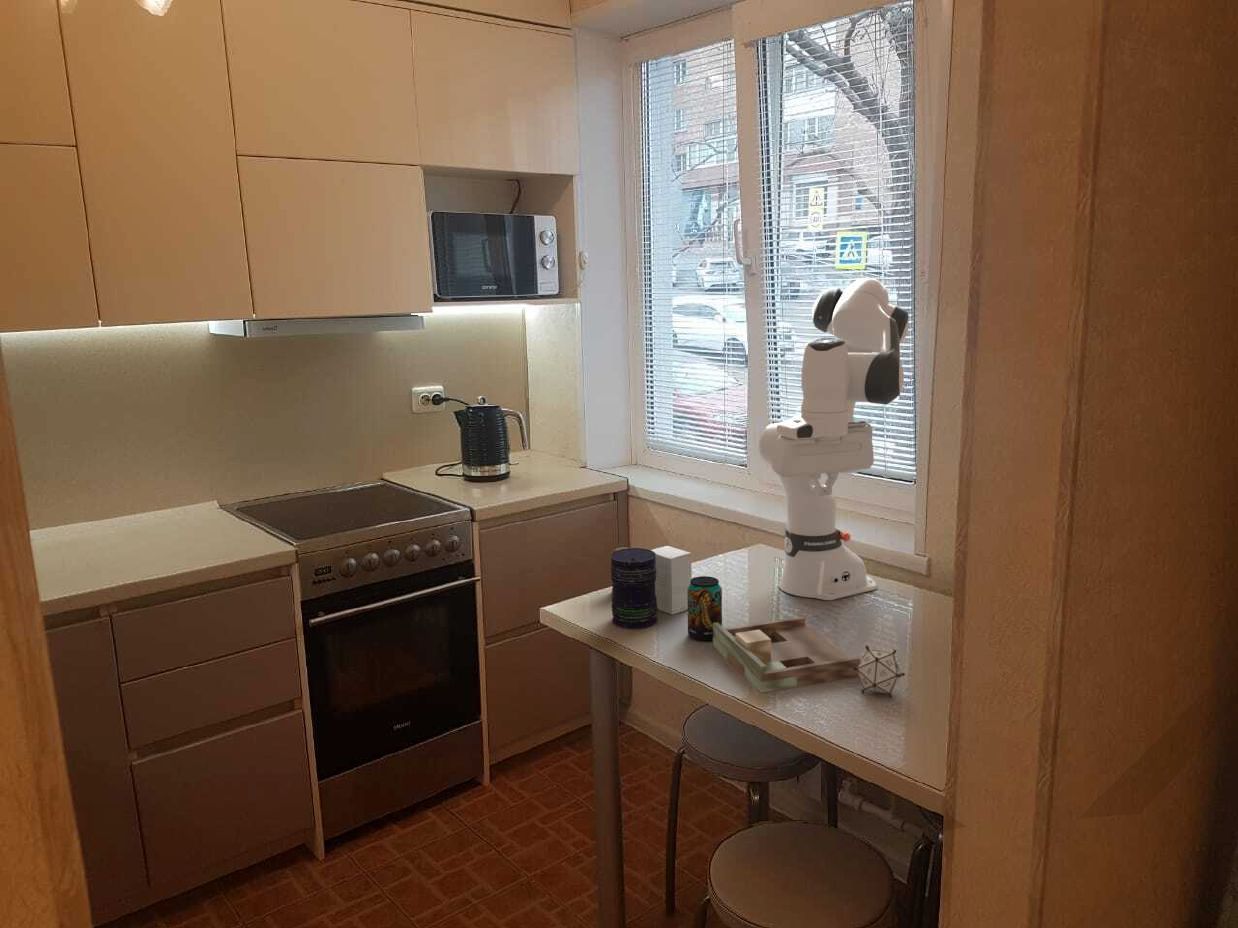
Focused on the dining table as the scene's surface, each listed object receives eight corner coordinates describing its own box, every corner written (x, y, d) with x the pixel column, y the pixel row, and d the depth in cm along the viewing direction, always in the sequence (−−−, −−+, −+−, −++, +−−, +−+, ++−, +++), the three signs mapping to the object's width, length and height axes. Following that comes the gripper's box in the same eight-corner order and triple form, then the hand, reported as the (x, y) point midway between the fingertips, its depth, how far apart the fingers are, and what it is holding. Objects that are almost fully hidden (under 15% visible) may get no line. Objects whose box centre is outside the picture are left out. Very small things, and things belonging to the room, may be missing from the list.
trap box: (802, 632, 190) (802, 609, 189) (859, 675, 170) (860, 650, 169) (713, 646, 185) (712, 622, 184) (761, 692, 164) (761, 666, 163)
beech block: (759, 648, 178) (759, 629, 177) (770, 658, 173) (771, 639, 172) (735, 652, 176) (735, 633, 176) (746, 662, 172) (746, 642, 171)
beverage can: (692, 643, 186) (691, 587, 183) (684, 630, 193) (683, 576, 190) (725, 641, 187) (725, 585, 184) (717, 628, 194) (716, 573, 191)
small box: (692, 608, 205) (692, 552, 203) (671, 615, 201) (670, 558, 199) (668, 599, 211) (667, 544, 209) (647, 605, 208) (646, 550, 205)
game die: (866, 708, 165) (841, 656, 168) (909, 690, 165) (884, 638, 168) (872, 706, 156) (846, 651, 160) (919, 687, 156) (891, 632, 160)
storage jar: (612, 612, 204) (611, 548, 201) (657, 612, 204) (656, 547, 200) (611, 629, 194) (609, 562, 191) (657, 629, 194) (656, 561, 191)
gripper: (863, 417, 181) (861, 486, 184) (768, 426, 175) (768, 496, 178) (881, 422, 175) (879, 493, 178) (784, 431, 169) (783, 504, 172)
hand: (823, 494), depth 178 cm, fingers closed
